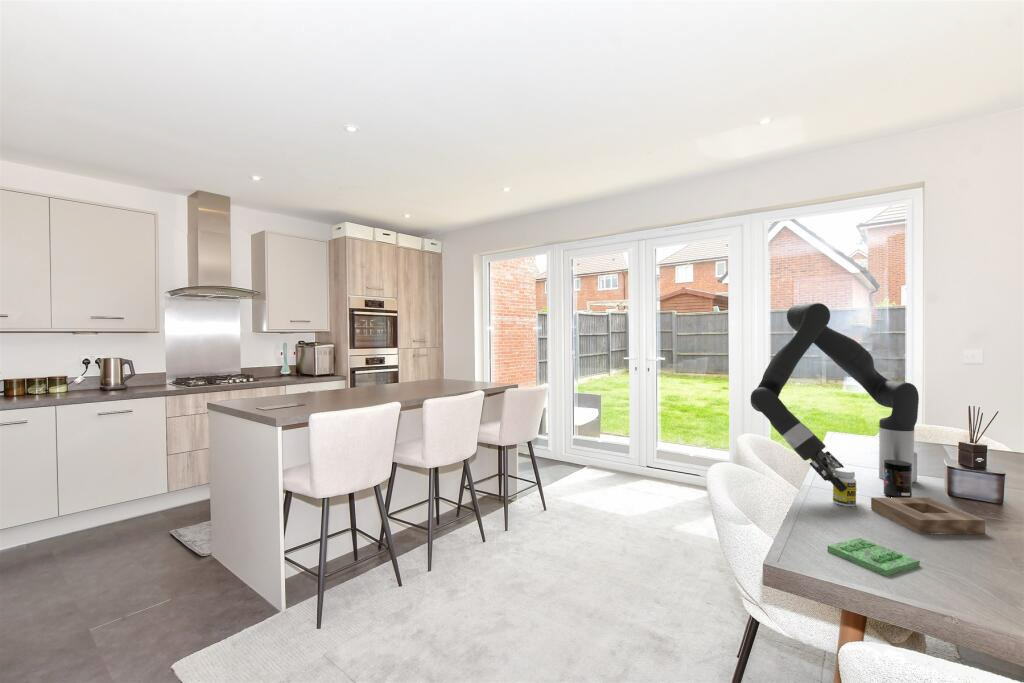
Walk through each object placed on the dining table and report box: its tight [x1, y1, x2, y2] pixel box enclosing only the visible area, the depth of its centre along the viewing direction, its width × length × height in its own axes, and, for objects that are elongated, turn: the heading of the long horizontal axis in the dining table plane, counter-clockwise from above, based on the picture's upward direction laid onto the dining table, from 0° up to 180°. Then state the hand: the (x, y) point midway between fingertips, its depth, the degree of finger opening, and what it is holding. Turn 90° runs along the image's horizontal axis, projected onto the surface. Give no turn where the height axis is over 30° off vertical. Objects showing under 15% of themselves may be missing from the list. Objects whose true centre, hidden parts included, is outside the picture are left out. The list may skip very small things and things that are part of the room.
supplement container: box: [883, 460, 913, 498], centre depth 143 cm, size 7×7×10 cm
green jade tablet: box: [827, 537, 920, 577], centre depth 104 cm, size 11×12×2 cm
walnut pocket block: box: [870, 497, 986, 535], centre depth 124 cm, size 16×16×4 cm
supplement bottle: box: [832, 467, 857, 507], centre depth 137 cm, size 6×6×10 cm
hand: (848, 486), depth 137 cm, fingers open, 8 cm apart
